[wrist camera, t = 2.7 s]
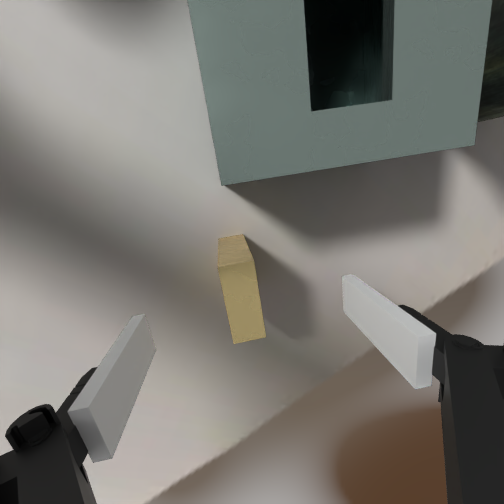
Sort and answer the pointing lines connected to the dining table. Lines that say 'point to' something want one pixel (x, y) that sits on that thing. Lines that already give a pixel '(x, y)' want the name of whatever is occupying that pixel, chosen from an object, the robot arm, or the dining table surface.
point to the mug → (493, 67)
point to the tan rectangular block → (240, 289)
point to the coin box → (337, 80)
